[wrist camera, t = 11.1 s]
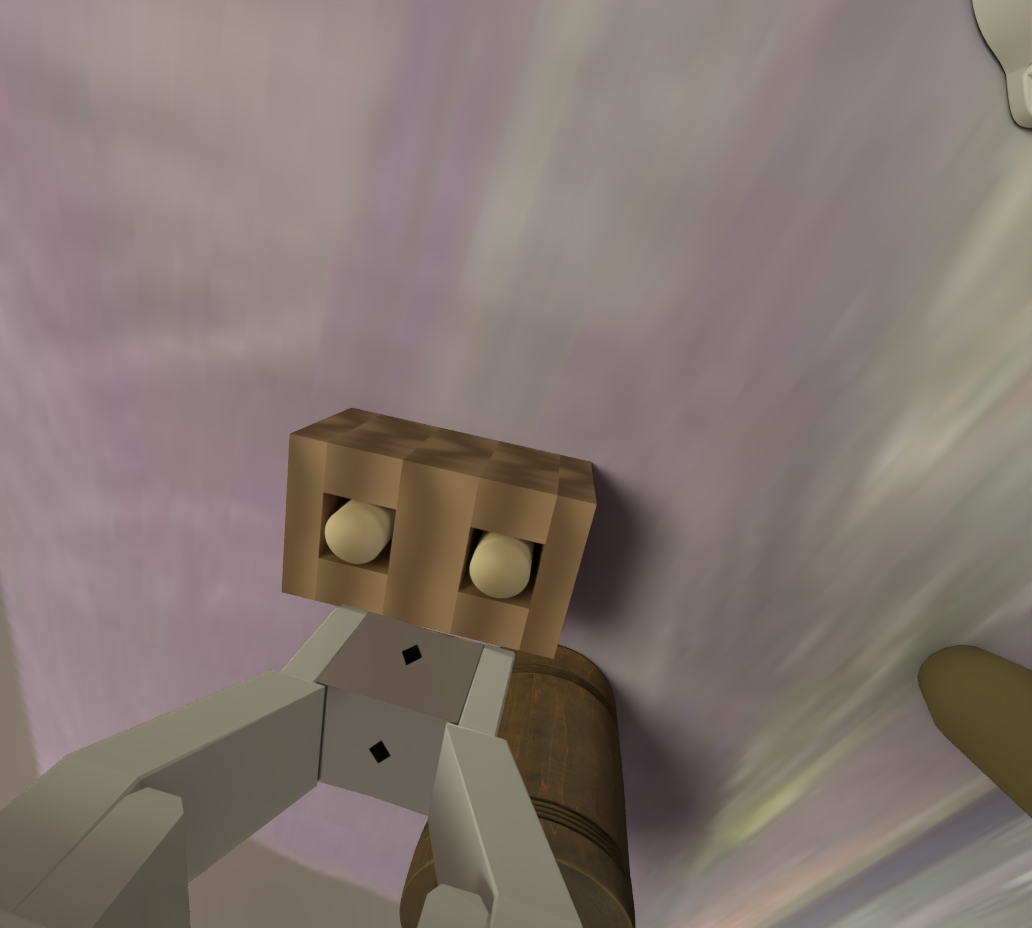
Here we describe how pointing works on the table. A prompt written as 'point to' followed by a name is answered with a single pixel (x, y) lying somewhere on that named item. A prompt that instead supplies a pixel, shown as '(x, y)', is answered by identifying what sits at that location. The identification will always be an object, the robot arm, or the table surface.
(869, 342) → the table surface
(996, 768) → the squeeze bottle
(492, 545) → the peg
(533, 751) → the wooden container
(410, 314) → the table surface
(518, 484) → the socket block
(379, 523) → the peg
